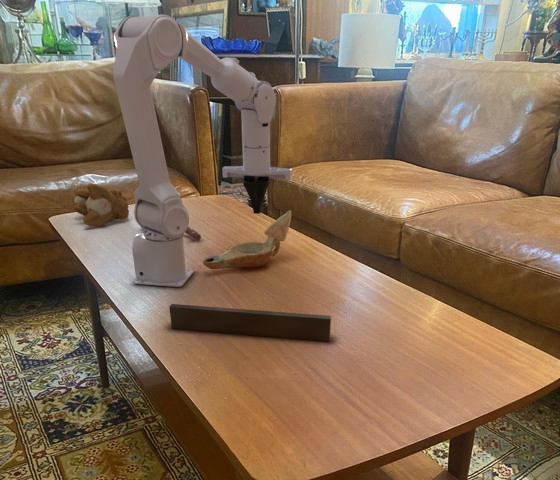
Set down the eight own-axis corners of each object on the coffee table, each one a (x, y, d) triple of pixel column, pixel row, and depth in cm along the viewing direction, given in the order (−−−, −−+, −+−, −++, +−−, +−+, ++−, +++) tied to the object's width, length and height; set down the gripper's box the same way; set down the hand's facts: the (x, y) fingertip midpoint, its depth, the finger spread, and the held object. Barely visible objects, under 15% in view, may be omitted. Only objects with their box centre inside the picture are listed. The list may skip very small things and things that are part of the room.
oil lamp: (301, 261, 118) (302, 214, 112) (213, 282, 108) (210, 232, 102) (278, 250, 124) (279, 205, 119) (194, 269, 114) (189, 221, 108)
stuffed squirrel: (82, 224, 135) (65, 222, 145) (136, 228, 144) (116, 226, 154) (81, 182, 132) (64, 182, 142) (136, 188, 141) (116, 188, 151)
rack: (171, 328, 90) (168, 306, 88) (173, 325, 91) (171, 303, 89) (329, 341, 86) (330, 319, 84) (330, 338, 88) (331, 315, 85)
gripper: (294, 143, 115) (293, 209, 122) (227, 141, 117) (230, 206, 124) (288, 149, 109) (288, 217, 116) (218, 147, 111) (221, 214, 118)
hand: (257, 212), depth 120 cm, fingers closed
